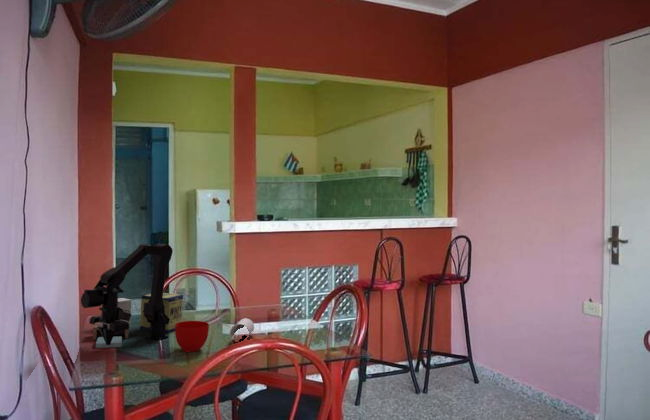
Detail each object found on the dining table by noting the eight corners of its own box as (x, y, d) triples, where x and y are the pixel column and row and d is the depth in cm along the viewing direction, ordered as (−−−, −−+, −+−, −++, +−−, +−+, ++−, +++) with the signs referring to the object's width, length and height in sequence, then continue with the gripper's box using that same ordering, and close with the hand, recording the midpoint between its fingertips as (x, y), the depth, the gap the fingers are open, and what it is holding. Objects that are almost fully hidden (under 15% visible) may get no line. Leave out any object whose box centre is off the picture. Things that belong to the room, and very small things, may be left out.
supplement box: (115, 329, 231) (116, 301, 231) (106, 327, 236) (107, 299, 236) (130, 327, 237) (131, 299, 237) (121, 324, 242) (122, 297, 242)
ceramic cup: (188, 341, 216) (189, 317, 216) (214, 350, 206) (215, 324, 206) (161, 347, 206) (162, 322, 206) (187, 356, 196) (188, 329, 196)
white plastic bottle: (256, 333, 236) (257, 315, 236) (248, 343, 217) (249, 324, 217) (239, 332, 236) (240, 314, 236) (229, 342, 218) (230, 323, 218)
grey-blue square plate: (120, 348, 205) (120, 342, 205) (95, 349, 202) (95, 343, 202) (121, 341, 214) (121, 336, 214) (97, 342, 211) (98, 337, 211)
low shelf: (127, 338, 217) (128, 326, 217) (92, 339, 213) (93, 327, 213) (128, 333, 225) (129, 322, 225) (94, 335, 221) (95, 323, 221)
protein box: (168, 333, 229) (170, 298, 229) (139, 329, 234) (140, 294, 234) (182, 328, 239) (183, 294, 239) (154, 324, 244) (155, 291, 244)
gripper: (142, 305, 203) (140, 345, 203) (115, 299, 214) (114, 337, 215) (115, 309, 194) (114, 351, 194) (89, 302, 206) (88, 341, 206)
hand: (108, 344), depth 202 cm, fingers closed
